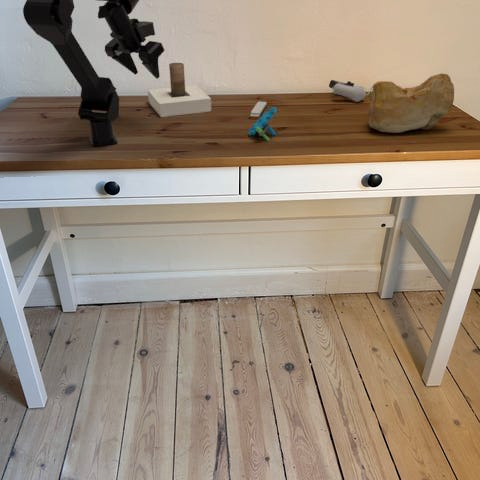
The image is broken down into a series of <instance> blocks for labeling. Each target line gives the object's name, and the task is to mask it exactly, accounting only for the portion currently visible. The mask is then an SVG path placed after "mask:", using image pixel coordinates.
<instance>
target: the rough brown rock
mask: <svg viewBox="0 0 480 480" xmlns="http://www.w3.org/2000/svg"><path fill="white" fill-rule="evenodd" d="M372 86H373V88H372V90H371V98H370V101H369V106H368V119H367V120H368V121H367V122H368V126H369V127H370V128H372V129H374V130H376V131H379V132H381V133H391V134H398V133H405V132H407V131H411V130H419V129H421V130H430V129H432V128H433V126H434V125H435V124H436V123H438V121H439V119H440V118H441V117H444V116H445V115H446V114H447V113H448V112H451V110H452V109H453V106H454V100H455V86H454V83H453V82H452V80H451V77H450V76H449V74H448V73H438V74H434V75H431V76H430V77H429V78H427V79H426V80H424V82H422V83H420V84H419V85H417V86H413V87H405V88H402V87H401V86H399V85H397V84H396V83H394V82H393V81H386V80H385V81H383V80H381V81H380V80H379V81H376V82H375V83H374V84H373V85H372Z"/></svg>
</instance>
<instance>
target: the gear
mask: <svg viewBox="0 0 480 480" xmlns="http://www.w3.org/2000/svg"><path fill="white" fill-rule="evenodd" d="M277 111H278V110H277V108H276V107H275V106H274V107H271V108H270V109H269V110H268V111H266V112H264V113H263V114H262V116H260V118H259V119H258V120H257V122H255V123H254V124H252V126H251V128H250V129H249V130H248V135H249V136H254V135H255V134H256V132H257V133H258V135H259V136H260V137H263V138H264V139H265V140H266V141H267V142H269V141H270V138H269V136H267V135H266V134H265V133H266V131H268V132H269V133H270V135H272V136H275V135H276V132H275V130H274V129H273V128H272V127H271V126H270V124H269V122H268V120H271V119H272V118H273V117H274V115H275V114H276V112H277Z"/></svg>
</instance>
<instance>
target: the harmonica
mask: <svg viewBox="0 0 480 480" xmlns="http://www.w3.org/2000/svg"><path fill="white" fill-rule="evenodd" d="M267 107H268V102H266V101H257V103H256V104H255V105H254V107H253V108H252V109H251V111H250V115H249V117H248V120H257V121H258V119H259V118H260V117H262V115H263V114H264V112H265V110H266V109H267Z"/></svg>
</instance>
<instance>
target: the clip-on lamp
mask: <svg viewBox="0 0 480 480" xmlns="http://www.w3.org/2000/svg"><path fill="white" fill-rule="evenodd" d="M328 87H329V88H330V89H331V90H332V91H331V93H332V94H335V95H338V96H339V95H340V96H343V97H347V98H350V100H351V101H353V102H356V103H358V102H359V103H360V102H361V101H362V100H364V99H365V98H366V97H367V96H368V95H370V93H372V91H373V85H372V86H371V88H370V90H369V91H368V93H366V90H365V88H364V86H362V85H355V83H354V82H352V81H347V82H342V81H338V80H334V79H331V80H330V81H329V84H328Z"/></svg>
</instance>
